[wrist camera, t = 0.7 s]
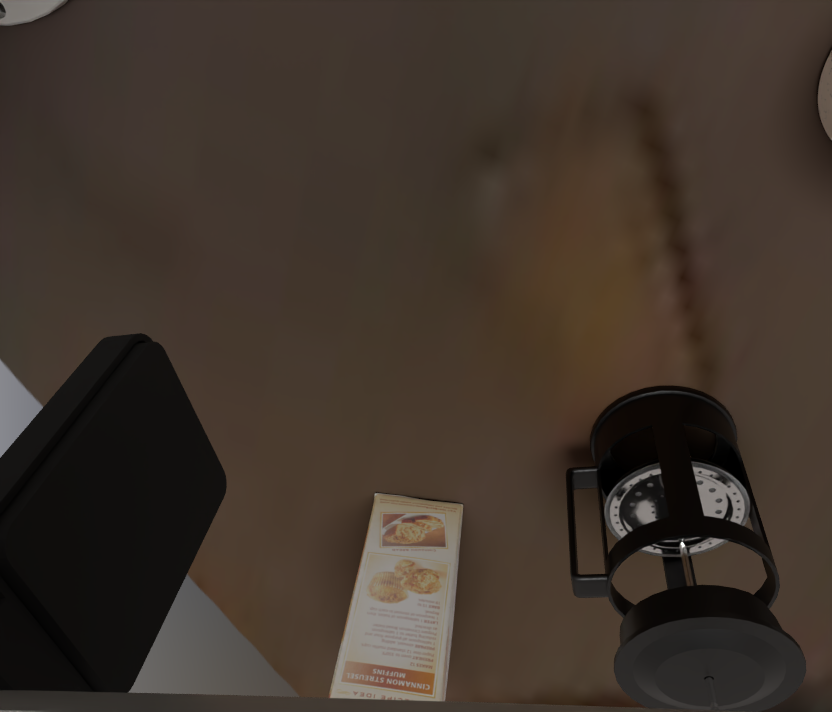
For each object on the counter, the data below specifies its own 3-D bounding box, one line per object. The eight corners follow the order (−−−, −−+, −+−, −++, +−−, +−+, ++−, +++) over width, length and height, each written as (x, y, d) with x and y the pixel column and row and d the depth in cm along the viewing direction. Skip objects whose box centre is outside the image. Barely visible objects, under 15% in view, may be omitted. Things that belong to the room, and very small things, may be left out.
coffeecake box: (372, 490, 57) (311, 749, 41) (466, 501, 56) (440, 768, 41) (372, 608, 66) (322, 857, 50) (453, 618, 65) (427, 874, 50)
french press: (749, 377, 46) (889, 753, 28) (744, 484, 52) (859, 859, 33) (557, 394, 49) (572, 746, 31) (571, 493, 54) (590, 845, 36)
